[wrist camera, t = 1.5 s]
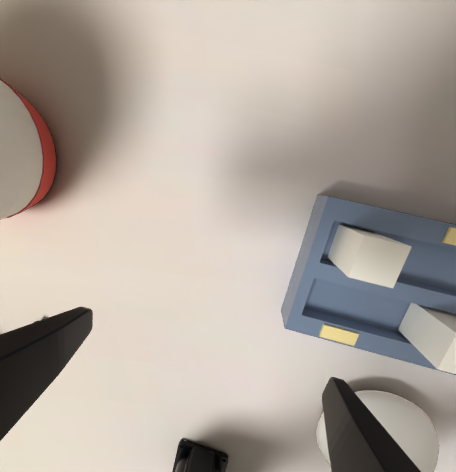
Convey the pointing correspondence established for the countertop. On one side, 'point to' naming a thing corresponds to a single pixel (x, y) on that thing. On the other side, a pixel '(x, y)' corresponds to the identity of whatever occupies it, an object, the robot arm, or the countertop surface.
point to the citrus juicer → (23, 154)
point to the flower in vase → (397, 427)
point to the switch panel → (364, 293)
